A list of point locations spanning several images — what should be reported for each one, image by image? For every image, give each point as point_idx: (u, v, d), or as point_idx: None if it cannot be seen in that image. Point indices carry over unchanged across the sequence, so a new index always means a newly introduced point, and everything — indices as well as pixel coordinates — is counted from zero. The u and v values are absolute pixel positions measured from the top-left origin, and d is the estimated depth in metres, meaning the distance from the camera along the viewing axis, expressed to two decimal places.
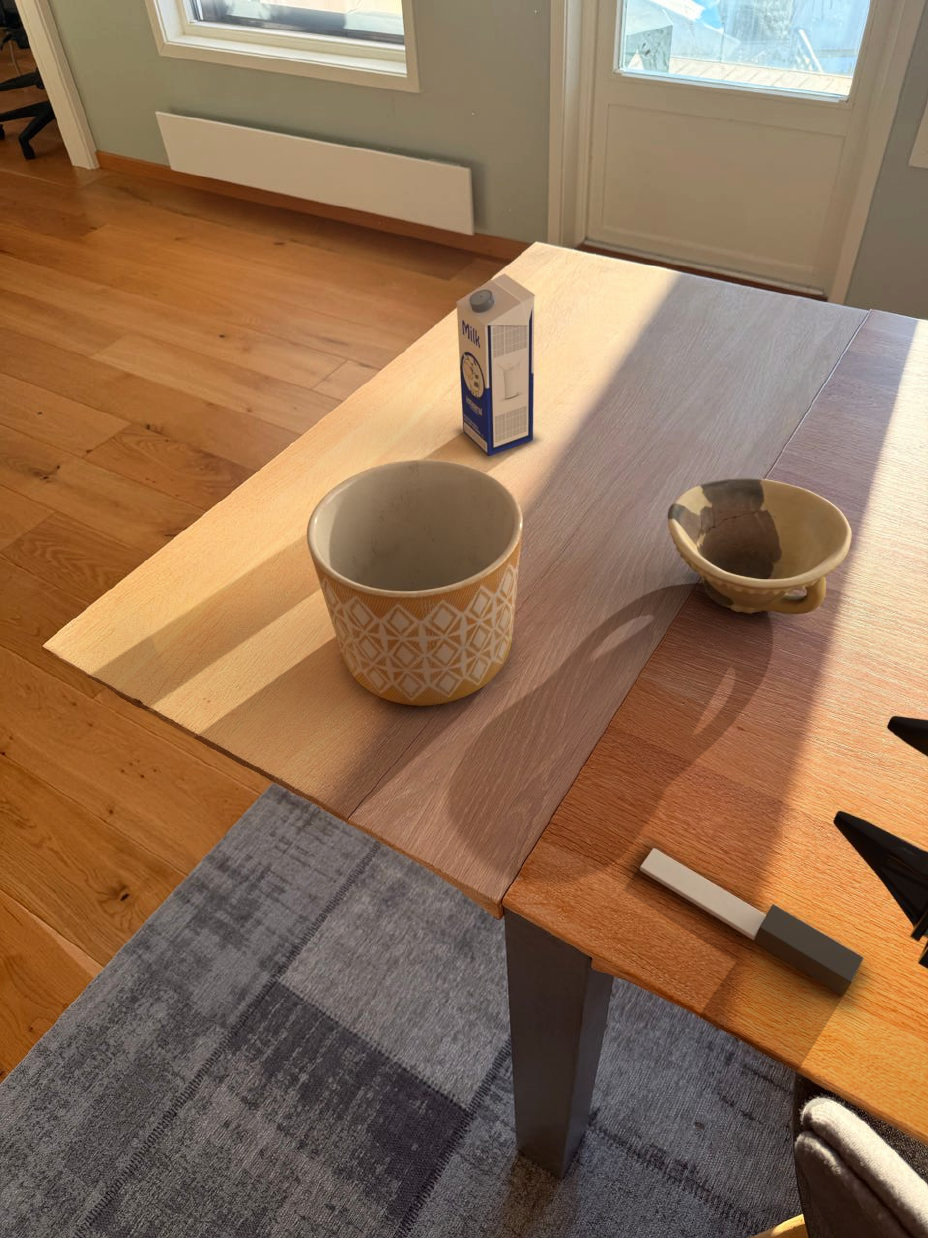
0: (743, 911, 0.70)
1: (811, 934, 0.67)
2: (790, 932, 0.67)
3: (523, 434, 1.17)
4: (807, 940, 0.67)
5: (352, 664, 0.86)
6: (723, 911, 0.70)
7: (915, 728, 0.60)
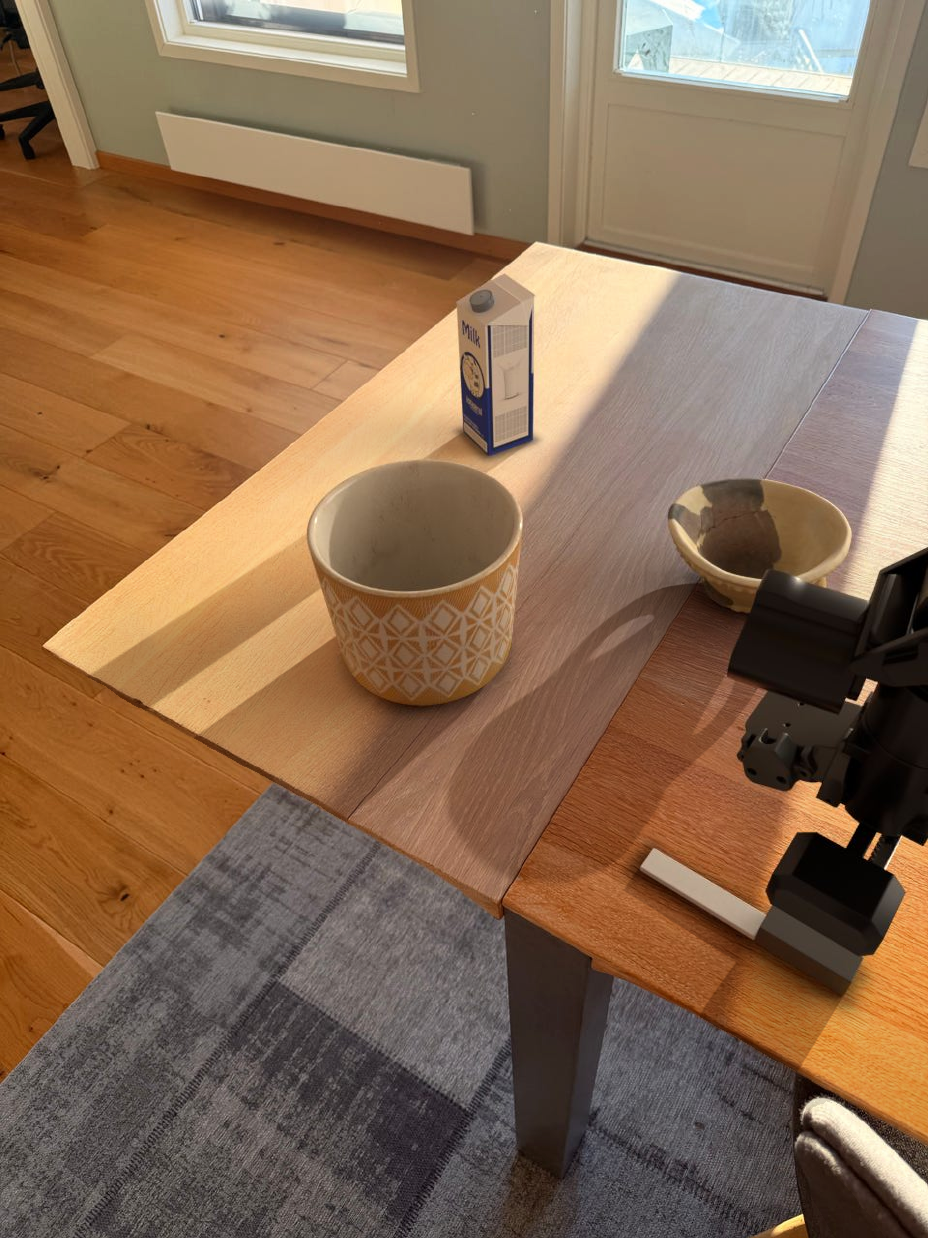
0: (743, 911, 0.70)
1: (811, 934, 0.67)
2: (790, 932, 0.67)
3: (523, 434, 1.17)
4: (807, 940, 0.67)
5: (352, 664, 0.86)
6: (723, 911, 0.70)
7: None
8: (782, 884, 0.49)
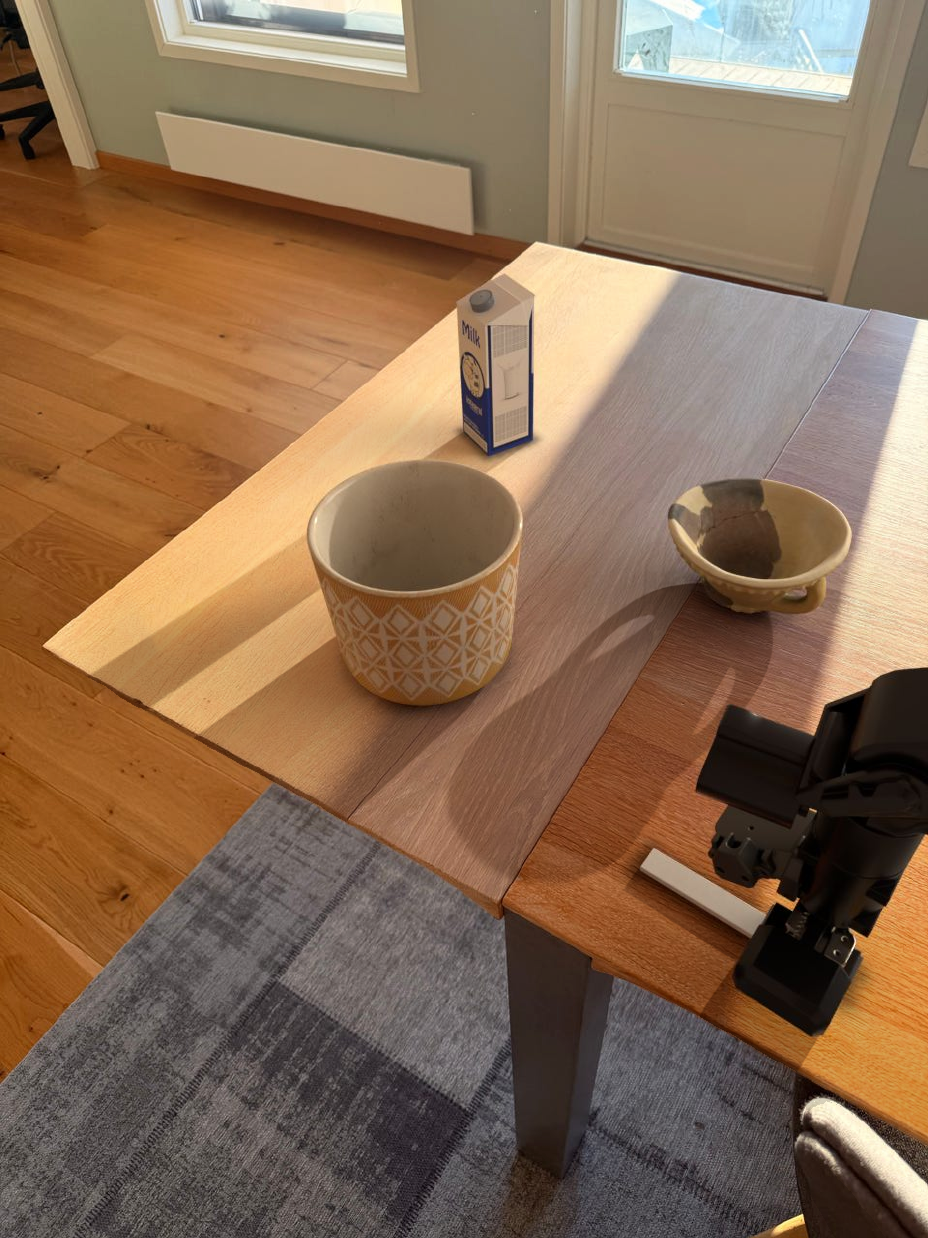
0: (743, 911, 0.70)
1: None
2: None
3: (523, 434, 1.17)
4: None
5: (352, 664, 0.86)
6: (723, 911, 0.70)
7: None
8: (744, 973, 0.57)
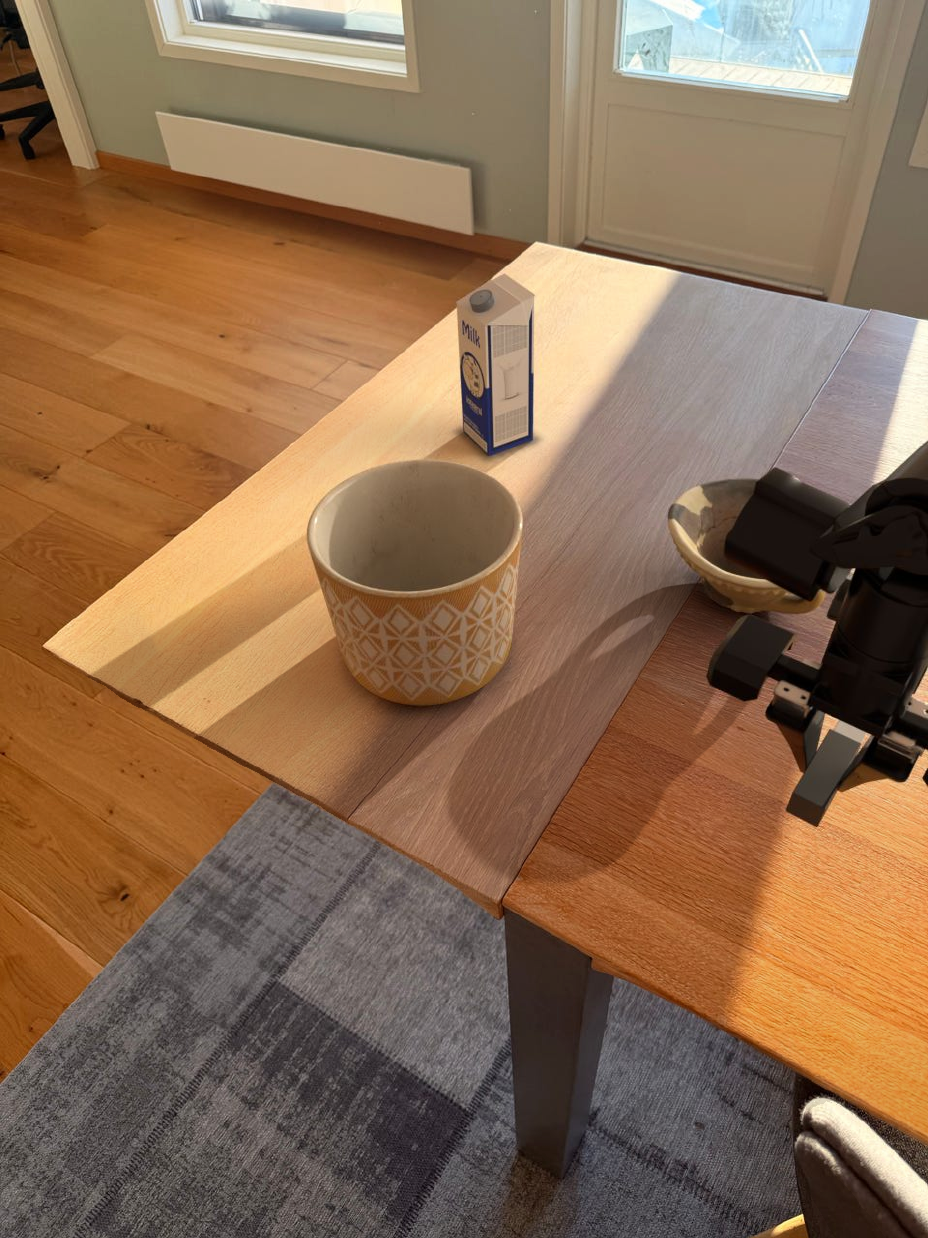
0: (851, 738, 0.69)
1: (836, 769, 0.65)
2: (833, 752, 0.66)
3: (523, 434, 1.17)
4: (828, 764, 0.65)
5: (352, 664, 0.86)
6: None
7: (848, 767, 0.65)
8: None
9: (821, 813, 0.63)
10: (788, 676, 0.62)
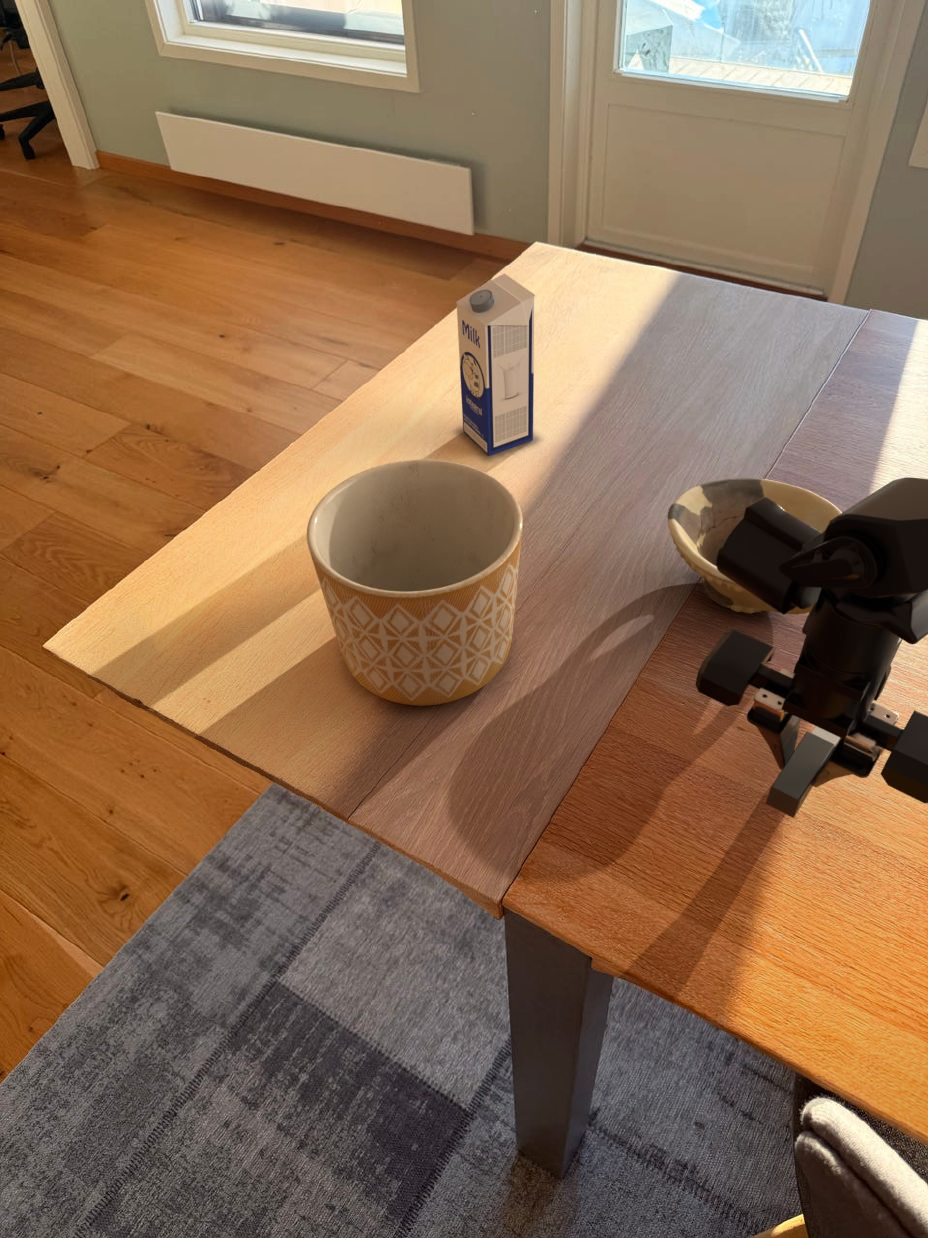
0: (827, 739, 0.77)
1: (811, 766, 0.73)
2: (809, 751, 0.74)
3: (523, 434, 1.17)
4: (804, 762, 0.74)
5: (352, 664, 0.86)
6: None
7: (822, 765, 0.73)
8: None
9: (796, 805, 0.72)
10: (767, 684, 0.70)
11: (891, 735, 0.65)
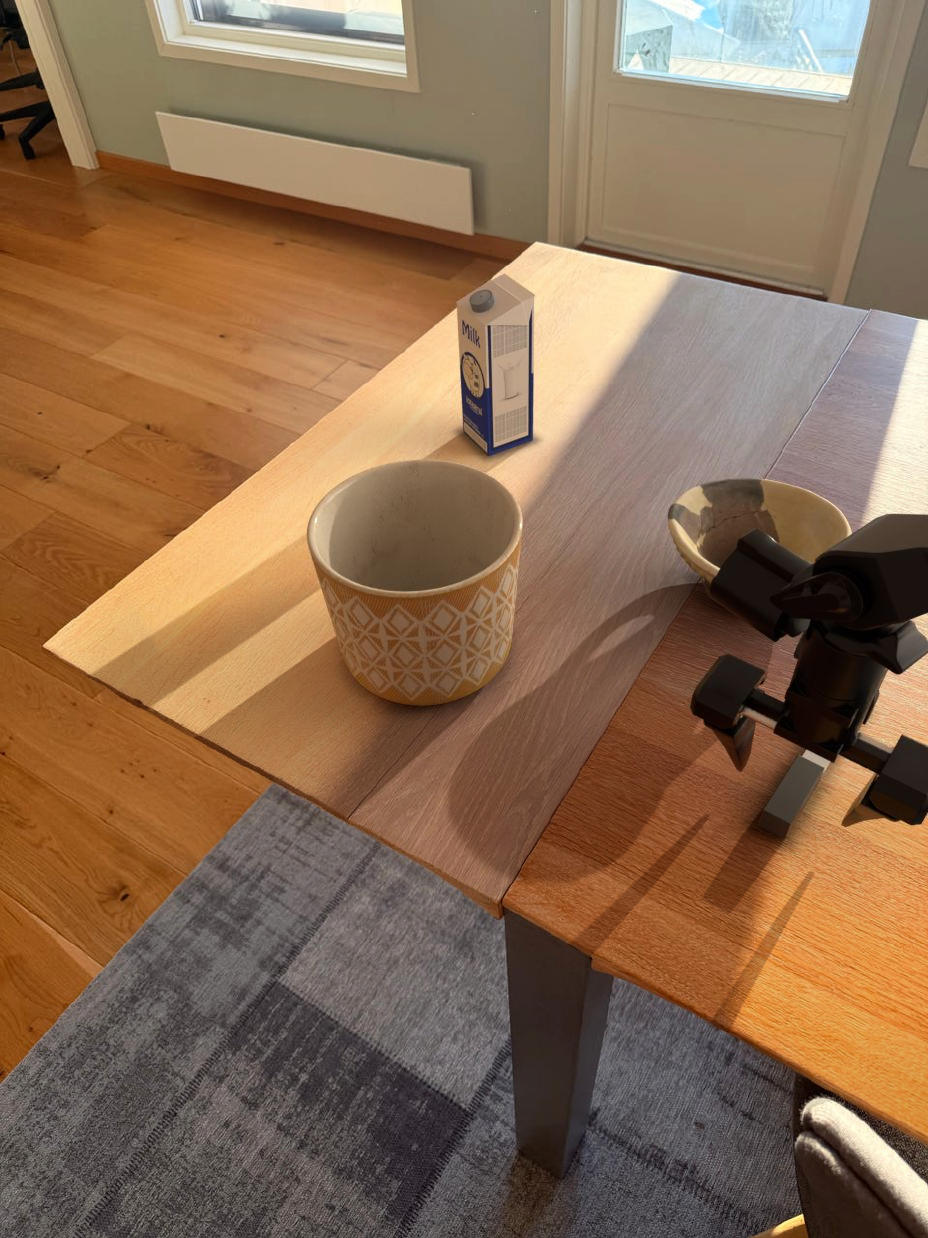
0: (817, 762, 0.80)
1: (802, 789, 0.76)
2: (800, 775, 0.77)
3: (523, 434, 1.17)
4: (795, 786, 0.76)
5: (352, 664, 0.86)
6: None
7: (851, 805, 0.74)
8: None
9: (787, 828, 0.74)
10: None
11: (879, 759, 0.67)
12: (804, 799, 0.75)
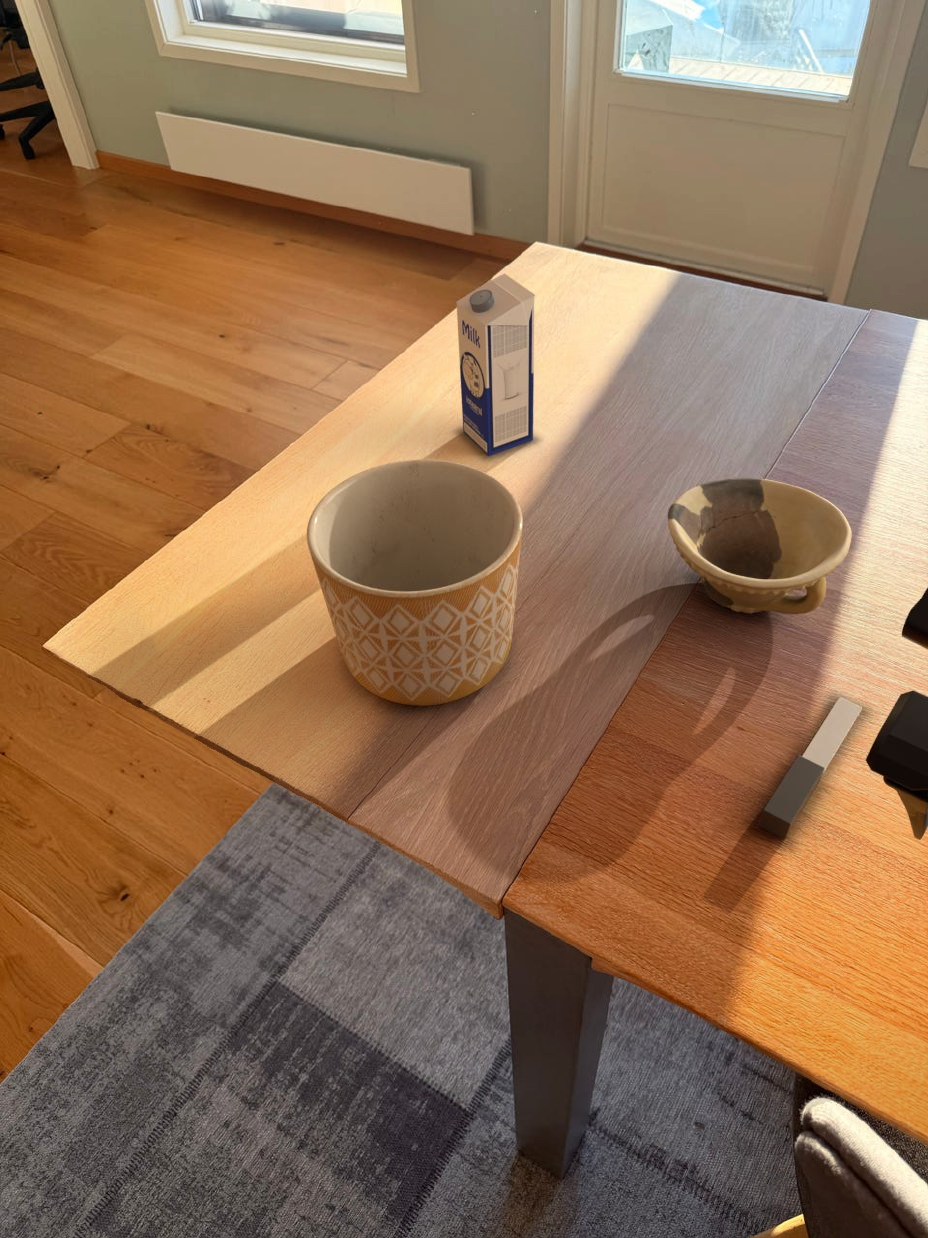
0: (817, 762, 0.80)
1: (802, 790, 0.76)
2: (800, 775, 0.77)
3: (523, 434, 1.17)
4: (795, 786, 0.76)
5: (352, 664, 0.86)
6: (813, 748, 0.81)
7: None
8: None
9: (787, 828, 0.74)
10: None
11: None
12: (804, 799, 0.75)
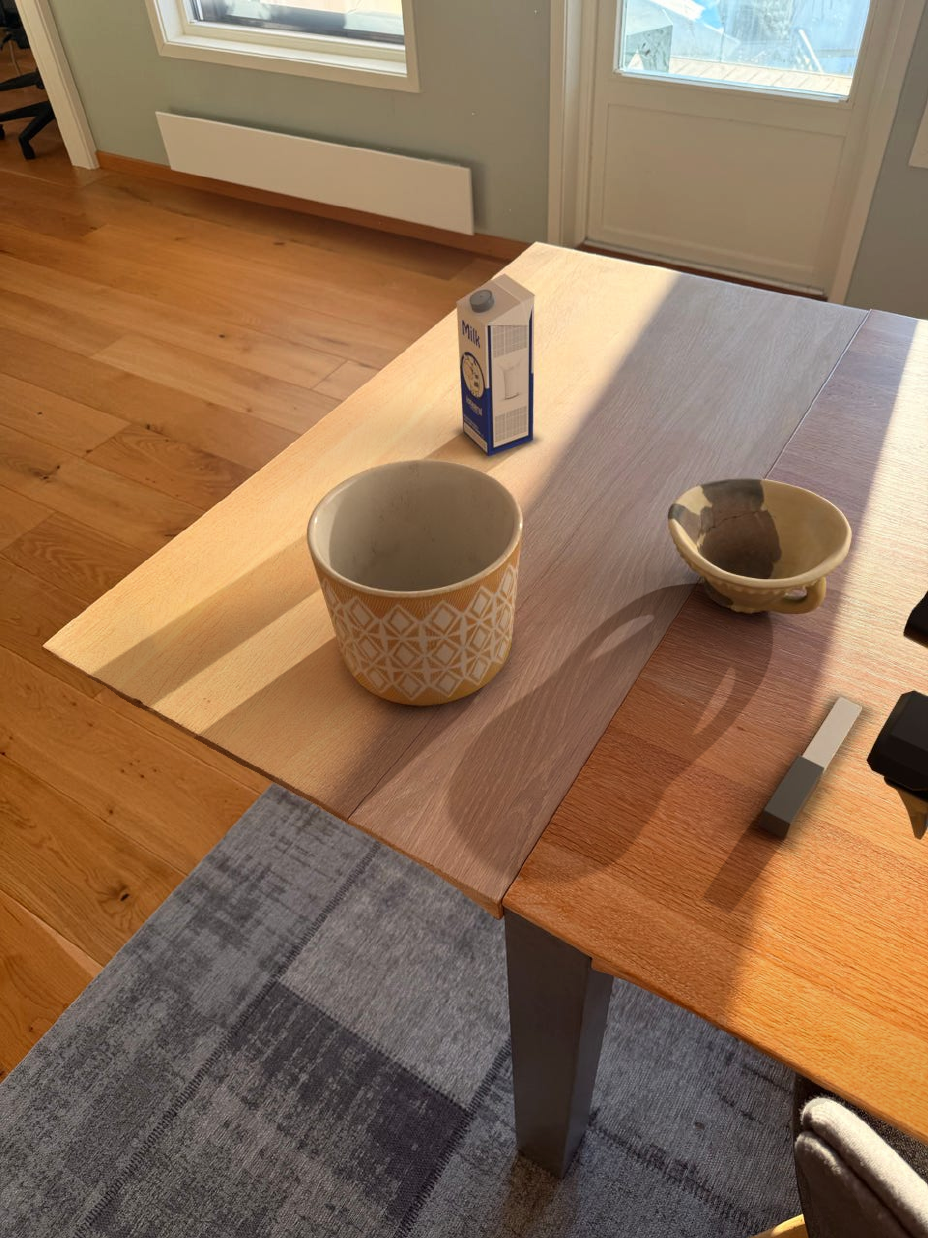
0: (817, 762, 0.80)
1: (802, 790, 0.76)
2: (800, 775, 0.77)
3: (523, 434, 1.17)
4: (795, 786, 0.76)
5: (352, 664, 0.86)
6: (813, 748, 0.81)
7: None
8: None
9: (787, 828, 0.74)
10: None
11: None
12: (804, 799, 0.75)
